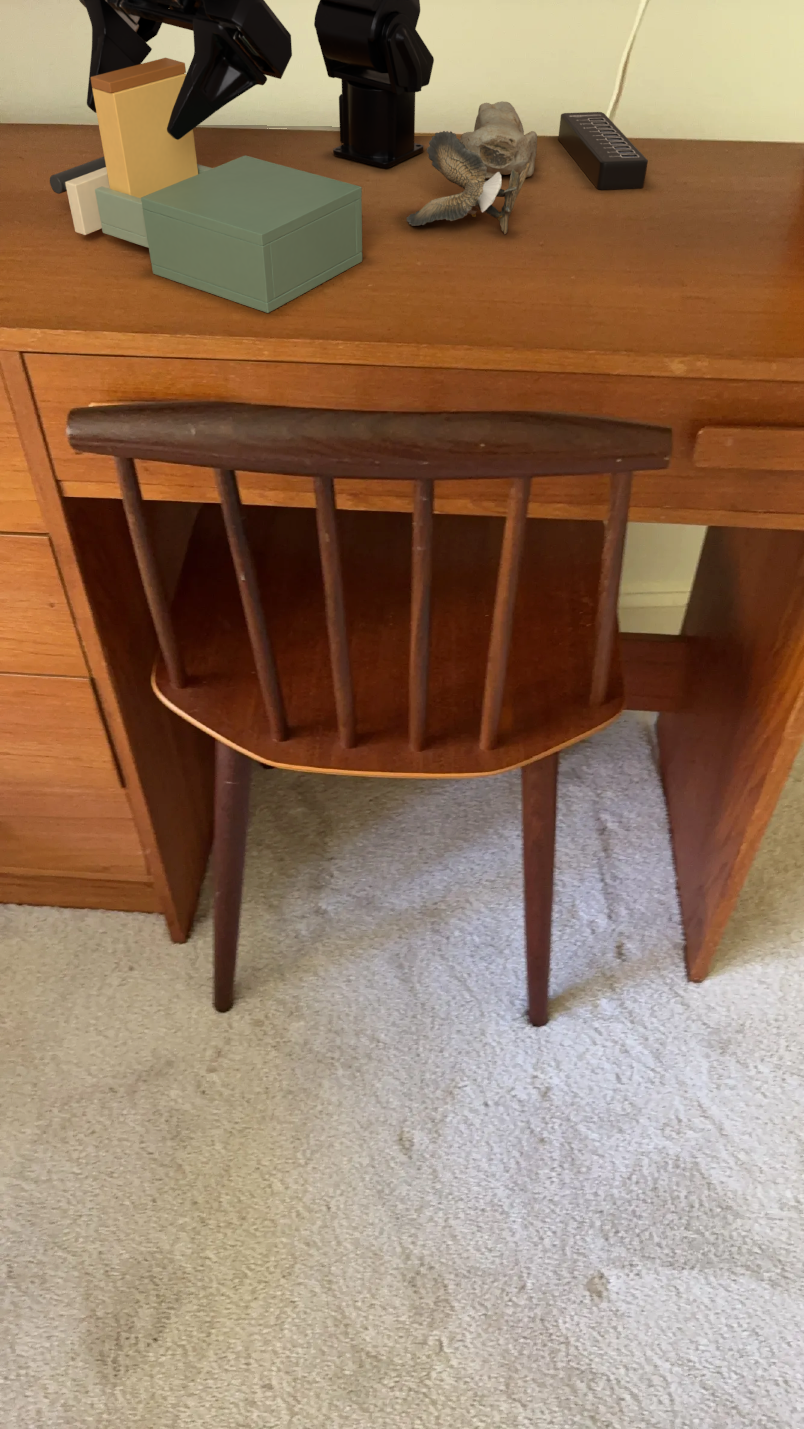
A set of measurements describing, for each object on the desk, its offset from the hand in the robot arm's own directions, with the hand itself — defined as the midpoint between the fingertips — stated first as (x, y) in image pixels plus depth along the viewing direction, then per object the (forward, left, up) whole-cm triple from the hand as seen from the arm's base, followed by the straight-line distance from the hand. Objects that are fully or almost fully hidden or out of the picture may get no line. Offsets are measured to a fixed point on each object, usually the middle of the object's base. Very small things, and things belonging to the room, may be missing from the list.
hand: (131, 122), depth 78 cm
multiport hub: (-20, -39, -9) cm, 45 cm away
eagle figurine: (-18, -18, -9) cm, 28 cm away
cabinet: (-10, -1, -9) cm, 14 cm away
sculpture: (-12, -33, -9) cm, 37 cm away
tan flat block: (0, -1, -7) cm, 7 cm away
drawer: (+1, -1, -8) cm, 8 cm away
